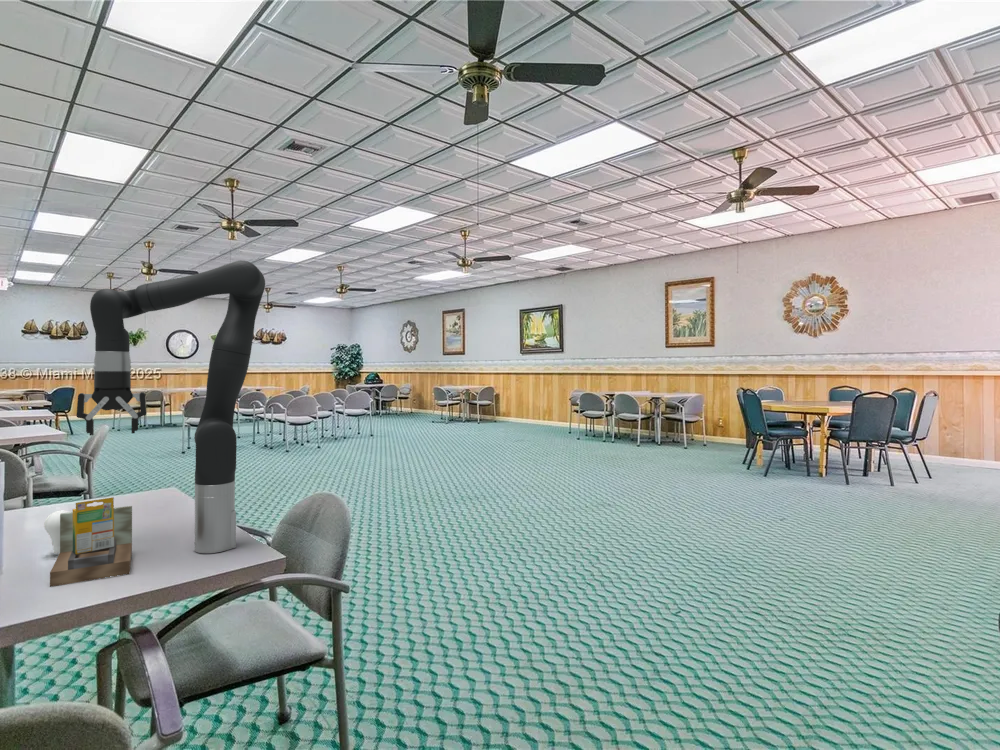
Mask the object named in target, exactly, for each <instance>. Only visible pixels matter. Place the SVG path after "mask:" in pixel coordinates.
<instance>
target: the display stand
mask: <svg viewBox="0 0 1000 750" xmlns="http://www.w3.org/2000/svg"><path fill="white" fill-rule="evenodd" d="M132 554H133V505H129V506H128V505H127V506H118V507H114V547H110V548H105V549H100V550H95V551H90V552H86V553H81V554H78V555H76V554H75V553H73V511H69V513H61V514H60V554H59V555H57V558H56V559H55V562H54V564H53V566H52V567H51V570H50V572H49V588H50V587H51V586H52V587H58V586H62V585H70V584H76V583H83V582H87V581H88V582H89V581H93V580H94V579H95V580H100V579H99V578H101V579H106V578H105V577H108V578H111V577H110V576H114V577H118V576H117V575H120V576H124V575H123V574H126V575H130V573H131V565H132V558H131V557H132V556H133V555H132ZM52 587H51V588H52Z"/></svg>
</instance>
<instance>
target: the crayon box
mask: <svg viewBox="0 0 1000 750" xmlns="http://www.w3.org/2000/svg"><path fill="white" fill-rule="evenodd" d="M114 500H115V498H114V496H113V497H106V498H99V499H93V500H86V501H79V502H75V508H73V509H72V512H73V553H75V554H76V555H78V554H81V553H86V552H90V551H95V550H100V549H105V548H110V547H114V508H115V506H114ZM93 503H102V504H98V505H91V506H88V505H90V504H93Z"/></svg>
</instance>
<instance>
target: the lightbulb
mask: <svg viewBox="0 0 1000 750" xmlns="http://www.w3.org/2000/svg"><path fill="white" fill-rule="evenodd" d="M69 512H70V511H69V510H63V509H61V510H56V511H53V512H51V513H50V514H49V515H48V516H47V517H46V519H45V520H44V524H43V525H44V526H43V527H44V530H45V531H46V533H47V534H48V535H49V538H50V539H51V544H52V547H53V548H52V549H53V553H54V554H55V555H57V556H59V554H60V514H61V513H69Z"/></svg>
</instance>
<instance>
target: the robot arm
mask: <svg viewBox="0 0 1000 750" xmlns="http://www.w3.org/2000/svg"><path fill="white" fill-rule="evenodd" d="M265 287H266V280H265V277H264V274H263V272H261V271H260V269H259V268H258V267H257V266H256V265H255V264H253V263H252V262H250V261H247V260H236V261H233V262H229V263H227V264H224V265H221V266H218V267H216V268H215V267H214V268H212V269H209V270H206V271H202V272H198V273H195V274H192V275H187V276H182V277H175V278H171V279H166V280H159V281H154V282H150V283H149V282H148V283H143V284H140V285H138V286H137V287H136V288H134V289H128V290H123V291H118V290H114V289H113V288H112V289H110V288H101V289H99V290H97V291H96V292H94V293H93V294H92V296H91V299H90V303H89V310H90V316H91V320H92V326H93V329H94V333H95V337H94V338H95V343H94V344H95V347H94V349H95V353H94V359H93V392H92V393H84V392H83V393H78V395H77V403H76V417H77V419H83V420H85V423H86V424H85V432H86V434H89V436H94V433H95V432H94V431H95V429H94V427H95V421H94V419H93V418H94V417H95V416H96V415H97V413H98V412H99V411H100V410H103V411H112V410H115V411H120V410H123V409H124V410H125V411H126V412H127V413H128V415H130V416H131V434H135V433H136V432H137V431H138V430H139V419H140V418H142V417H143V416H146V415H147V402H146V393H145V392H143V391H142V392H136V393H133V392H132V390H131V388H132V385H131V383H132V380H131V379H132V378H131V376H132V375H131V374H132V371H131V370H132V365H131V363H132V361H131V355H130V334H129V331H128V330H126V328H125V325H124V323H125V322H124V320H125V319H129V318H130V319H131V318H134V317H137V316H140V315H142V314H146V313H148V312H156V311H162V310H165V309H167V310H168V309H171V308H175V307H179V306H183V305H186V304H189V303H191V302H194V301H197V300H198V299H203V298H206V297H210V296H216V295H229V297H228V303H227V310H226V315H225V318H224V319H223V322H222V324H221V326H220V328H219V330H218V331H217V334H216V336H215V338H214V341H213V345H212V348H211V352H210V353H211V354H210V359H209V365H208V372H207V379H206V380H207V382H206V391H205V392H206V394H205V399H204V405H203V409H202V410H201V411H202V412H201V415H200V418H199V421H198V425H197V427H196V430H195V432H194V436H193V437H194V438H193V439H194V443H195V467H194V468H195V469H194V471H195V472H194V541H193V543H194V552H196V553H199V554H214V553H221V552H225V551H229V550H231V549H236V548H237V544H236V543H237V511H236V508H235V507H236V506H235V505H236V502H235V501H236V498H235V497H236V495H235V494H236V493H235V492H236V470H237V448H238V447H237V433H236V431H235V429H234V417H235V410H236V409H235V408H236V404H237V401H238V397H239V395H240V392H241V390H242V388H243V385H244V383H245V379H246V377H247V373H248V369H249V364H250V360H251V354H252V347H253V341H254V340H253V339H254V332H255V324H256V323H255V322H256V318H257V314H258V311H259V307H260V303H261V300H262V298H263V295H264V292H265V289H266V288H265ZM133 398H134V399H136V401H137V402H139V405H140V406H139V407H140V409H139V410H140V411H139V412H138V411H137V412H136V410H134V409H133V407H132V406H131V405H130V404H129V403H130V401H132V399H133ZM90 399H92V400H93V401H94V402H95V404H96V405H95V407H94V408H92V409H91V411H90V412H89V413H85V403H87V402H89V400H90Z"/></svg>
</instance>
